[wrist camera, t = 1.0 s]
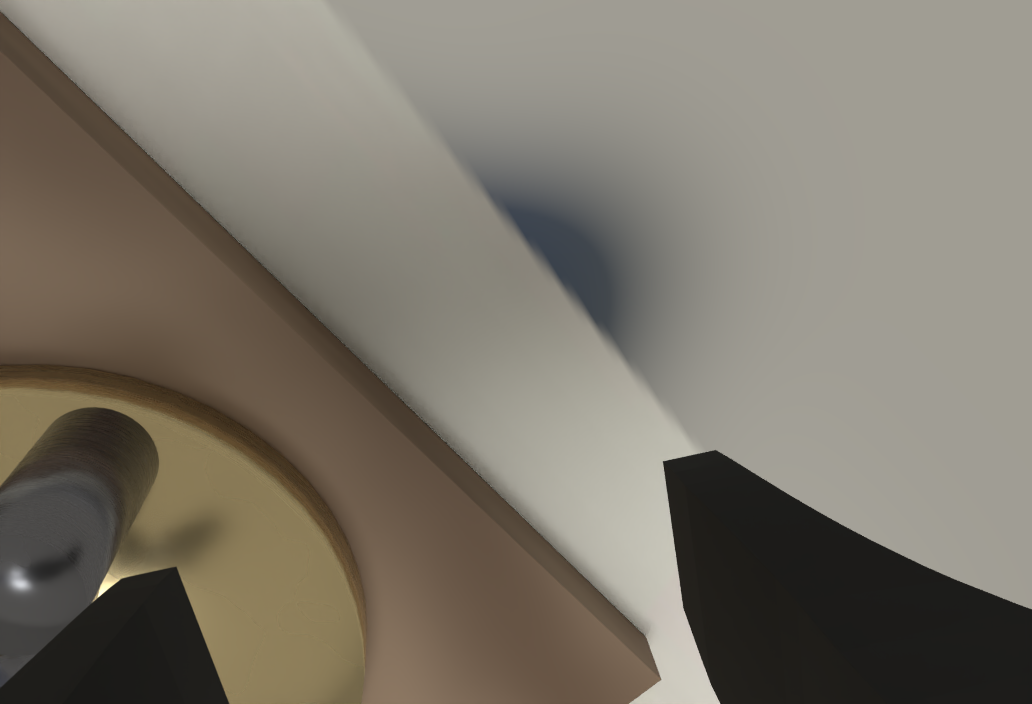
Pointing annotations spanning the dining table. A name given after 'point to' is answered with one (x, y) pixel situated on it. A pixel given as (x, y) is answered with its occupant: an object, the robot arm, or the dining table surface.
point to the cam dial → (172, 532)
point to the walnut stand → (287, 409)
